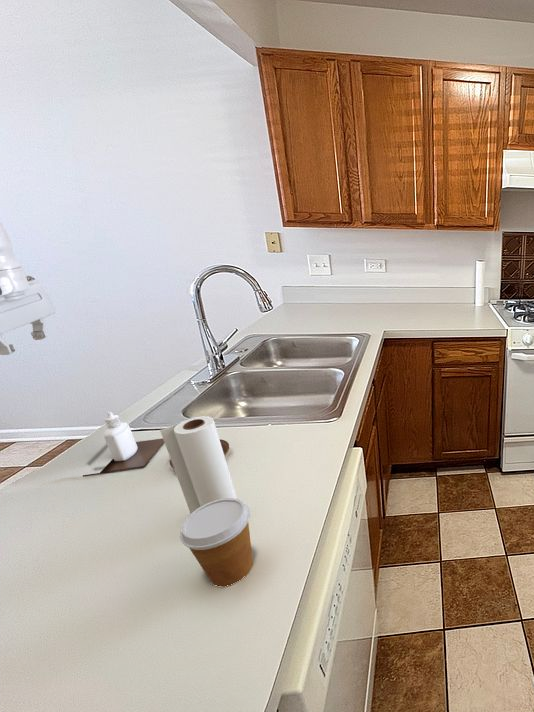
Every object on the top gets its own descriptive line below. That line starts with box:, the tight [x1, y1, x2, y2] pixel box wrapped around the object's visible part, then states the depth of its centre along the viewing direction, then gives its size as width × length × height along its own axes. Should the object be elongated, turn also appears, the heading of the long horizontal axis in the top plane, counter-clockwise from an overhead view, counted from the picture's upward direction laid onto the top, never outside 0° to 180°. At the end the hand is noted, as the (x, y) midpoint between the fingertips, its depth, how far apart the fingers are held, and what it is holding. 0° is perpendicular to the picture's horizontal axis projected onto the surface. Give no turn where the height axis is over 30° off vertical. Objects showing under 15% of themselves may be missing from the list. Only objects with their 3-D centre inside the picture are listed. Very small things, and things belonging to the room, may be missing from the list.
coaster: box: [82, 437, 165, 478], centre depth 97 cm, size 12×12×1 cm
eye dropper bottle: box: [103, 411, 138, 461], centre depth 94 cm, size 4×6×12 cm
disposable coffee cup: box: [179, 498, 254, 587], centre depth 65 cm, size 10×10×12 cm
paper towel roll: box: [159, 415, 238, 514], centre depth 75 cm, size 7×6×21 cm
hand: (25, 345), depth 87 cm, fingers open, 8 cm apart
